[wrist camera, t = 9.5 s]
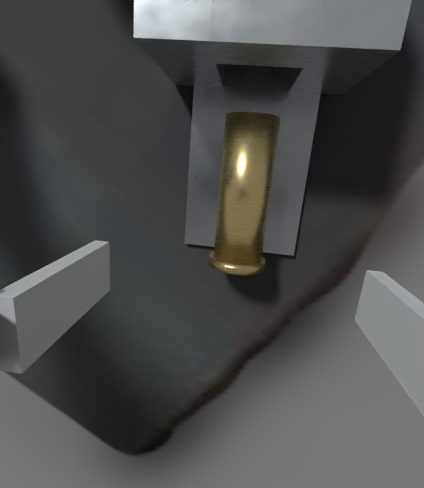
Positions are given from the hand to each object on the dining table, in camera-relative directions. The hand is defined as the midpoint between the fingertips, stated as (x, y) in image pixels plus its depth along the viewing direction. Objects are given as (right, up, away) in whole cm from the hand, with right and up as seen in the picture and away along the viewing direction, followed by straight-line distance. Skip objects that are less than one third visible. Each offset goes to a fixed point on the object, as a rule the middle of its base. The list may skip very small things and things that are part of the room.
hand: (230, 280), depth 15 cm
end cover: (+2, +7, +15) cm, 17 cm away
